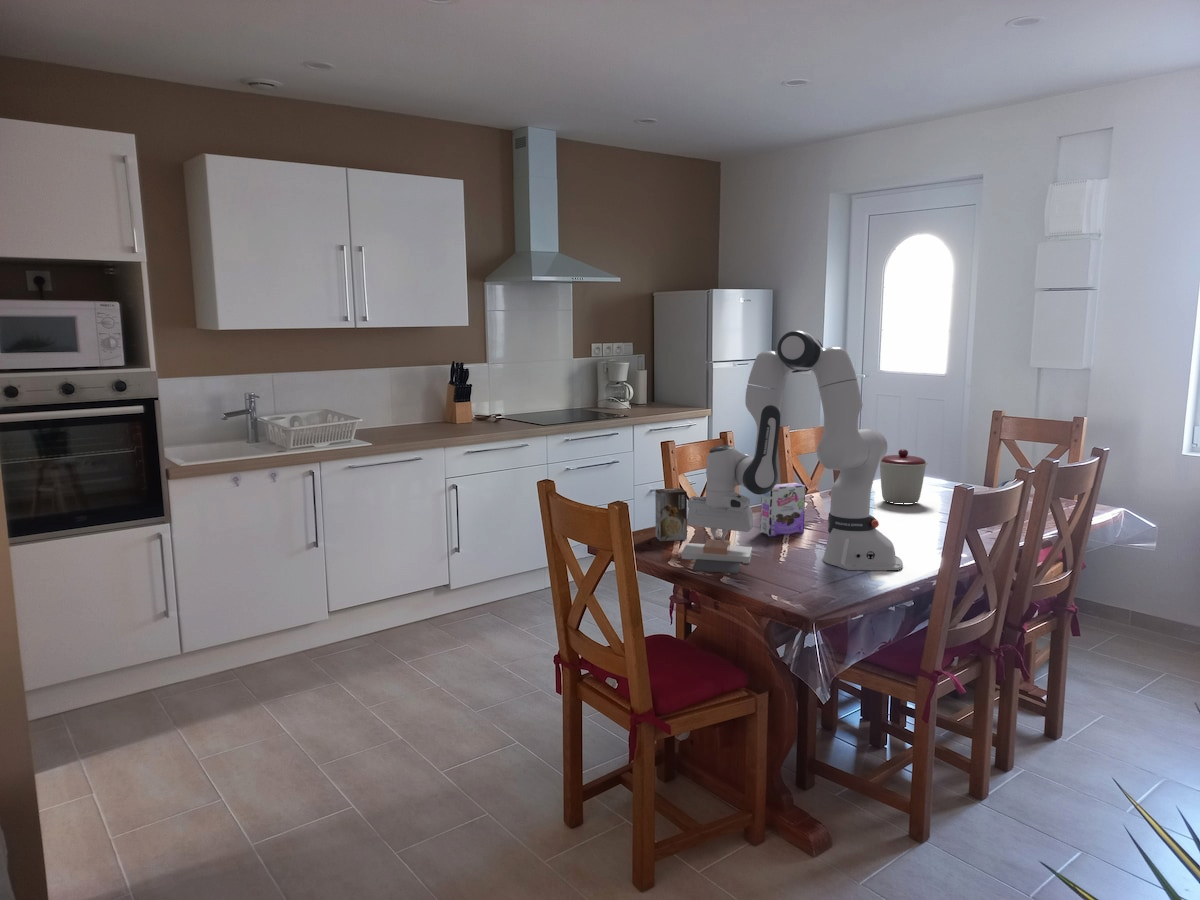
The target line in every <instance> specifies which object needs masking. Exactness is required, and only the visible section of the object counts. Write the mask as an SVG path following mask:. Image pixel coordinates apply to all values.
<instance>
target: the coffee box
mask: <svg viewBox="0 0 1200 900" xmlns="http://www.w3.org/2000/svg"><path fill="white" fill-rule="evenodd" d="M654 492H655V493H654V494H655V538H656V537H657V538H656V539H658V541H659V542H670V541H685V540H688V523H687V517H688V509H687V508H688V499H687V498H688V496H687V495H688V493H687V490H685V489H683V488H681V487H680V488H677V487H676V488H659V489H658V488H657V489H655V491H654Z"/></svg>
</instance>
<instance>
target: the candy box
mask: <svg viewBox="0 0 1200 900" xmlns="http://www.w3.org/2000/svg"><path fill="white" fill-rule="evenodd" d="M760 504H761V505H760V506H761V507H760V526H759V527H760V530H759V532H760V534H763V535H765V536H767V537H776V536H785V535H796V533H797V534H802V533H803V534H804V533H805V513H806V512H805V510H806V508H805V506H806V485H805V484H802V483H798V482H789V483H776V484H775V486H774V488H773V489H772V490H771V491H769V492H768V493H765V494H761V502H760Z"/></svg>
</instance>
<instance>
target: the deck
mask: <svg viewBox="0 0 1200 900" xmlns="http://www.w3.org/2000/svg"><path fill="white" fill-rule="evenodd" d="M704 545H705V543H692V542H691V543H689V542H686V544H685V545H684V548H683V550H682V551H681V560H691V559H693V560H695V561H696V559H703V560H718V561H733V562H743V563H742V564H750V563H751V558H752V555H753V547H752V546H739V545H730V549H729V551H728V554H727V555H720V554H705V553H703V547H704ZM693 560H692V561H693Z"/></svg>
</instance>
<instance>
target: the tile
mask: <svg viewBox="0 0 1200 900" xmlns="http://www.w3.org/2000/svg"><path fill="white" fill-rule="evenodd" d="M704 544H705V545H704V547H703V553H705V554H720V555H727V554H728V551H729V549H730V546H731V540H726V539H725V540H714V539H710V538H709V539H706V542H705V543H704Z"/></svg>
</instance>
